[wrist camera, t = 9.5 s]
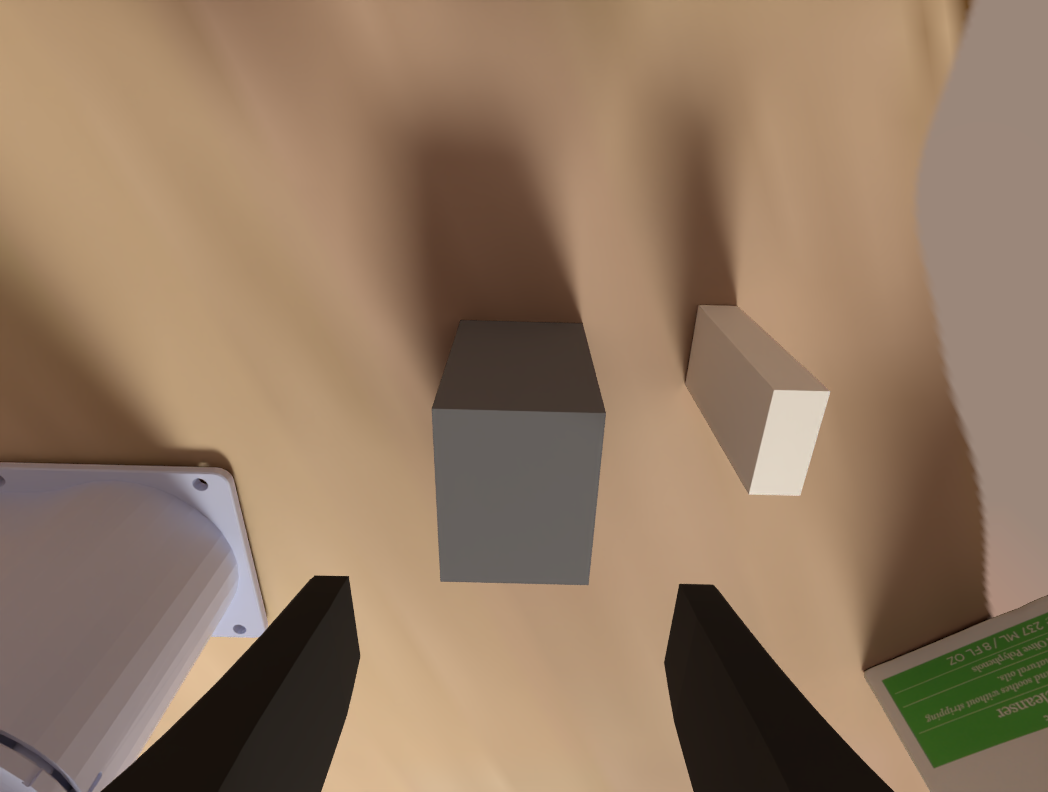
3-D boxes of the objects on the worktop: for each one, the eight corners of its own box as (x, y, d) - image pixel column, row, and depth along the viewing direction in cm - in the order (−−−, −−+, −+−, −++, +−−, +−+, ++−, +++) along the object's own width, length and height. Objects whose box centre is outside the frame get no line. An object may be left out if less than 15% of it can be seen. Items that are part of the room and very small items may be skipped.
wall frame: (679, 384, 19) (747, 507, 13) (811, -443, 11) (1131, -1068, 5) (727, 385, 19) (818, 509, 13) (894, -440, 11) (1308, -1062, 5)
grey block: (464, 455, 20) (440, 581, 15) (460, 320, 18) (431, 408, 12) (572, 459, 20) (588, 585, 15) (582, 322, 18) (605, 413, 13)
